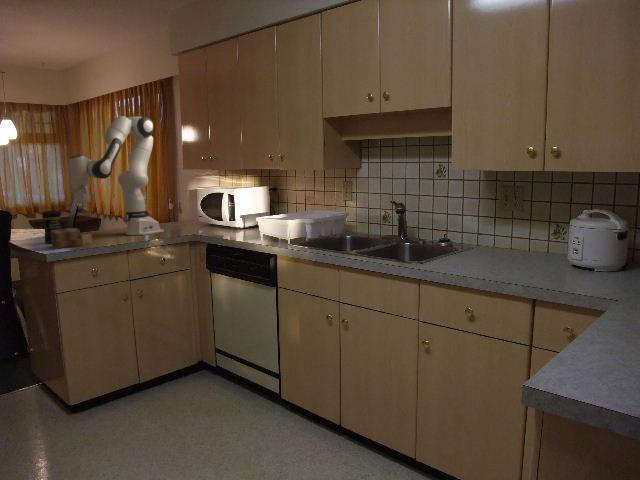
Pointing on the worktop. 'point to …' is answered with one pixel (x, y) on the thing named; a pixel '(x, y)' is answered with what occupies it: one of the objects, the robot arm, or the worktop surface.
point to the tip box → (66, 238)
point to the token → (86, 238)
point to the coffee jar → (51, 223)
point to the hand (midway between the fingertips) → (82, 209)
